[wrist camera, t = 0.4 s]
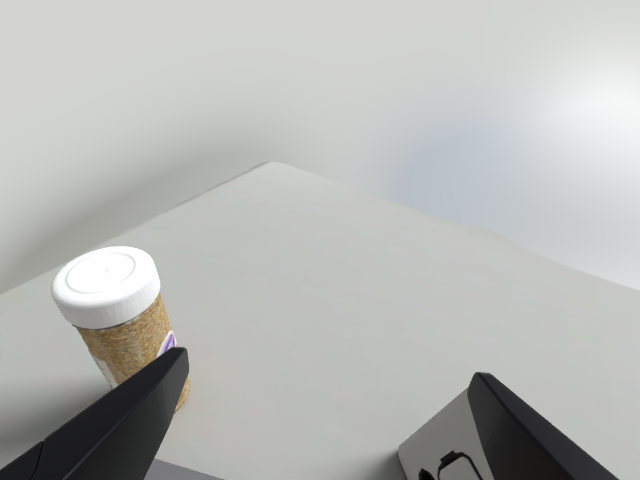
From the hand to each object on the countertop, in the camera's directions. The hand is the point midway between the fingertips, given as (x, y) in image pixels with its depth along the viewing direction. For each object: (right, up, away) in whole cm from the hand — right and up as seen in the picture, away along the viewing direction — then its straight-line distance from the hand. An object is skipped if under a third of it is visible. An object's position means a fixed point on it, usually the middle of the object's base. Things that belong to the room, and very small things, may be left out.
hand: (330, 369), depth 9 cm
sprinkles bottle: (-13, -8, +14) cm, 21 cm away
